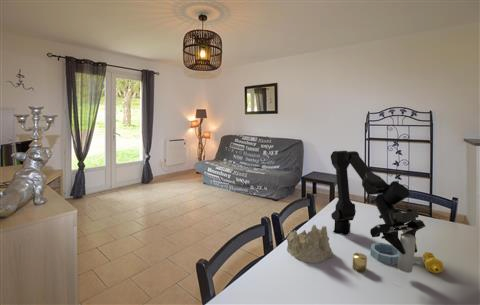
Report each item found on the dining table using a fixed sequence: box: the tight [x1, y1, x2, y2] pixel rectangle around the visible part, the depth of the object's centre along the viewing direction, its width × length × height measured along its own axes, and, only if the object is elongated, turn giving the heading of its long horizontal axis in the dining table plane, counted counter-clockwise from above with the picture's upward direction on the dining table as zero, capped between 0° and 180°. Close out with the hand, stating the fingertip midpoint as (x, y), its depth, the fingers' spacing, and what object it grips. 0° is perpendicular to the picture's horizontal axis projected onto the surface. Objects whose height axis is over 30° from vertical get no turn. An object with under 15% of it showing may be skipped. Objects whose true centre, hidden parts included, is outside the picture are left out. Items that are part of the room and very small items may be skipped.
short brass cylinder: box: [352, 252, 368, 274], centre depth 94 cm, size 5×5×5 cm
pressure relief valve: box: [413, 251, 444, 274], centre depth 95 cm, size 6×12×10 cm
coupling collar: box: [369, 242, 399, 265], centre depth 102 cm, size 10×10×3 cm
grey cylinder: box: [396, 232, 417, 274], centre depth 87 cm, size 4×4×12 cm
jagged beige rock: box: [286, 224, 333, 264], centre depth 105 cm, size 16×16×15 cm
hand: (410, 253), depth 86 cm, fingers closed on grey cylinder, 4 cm apart
